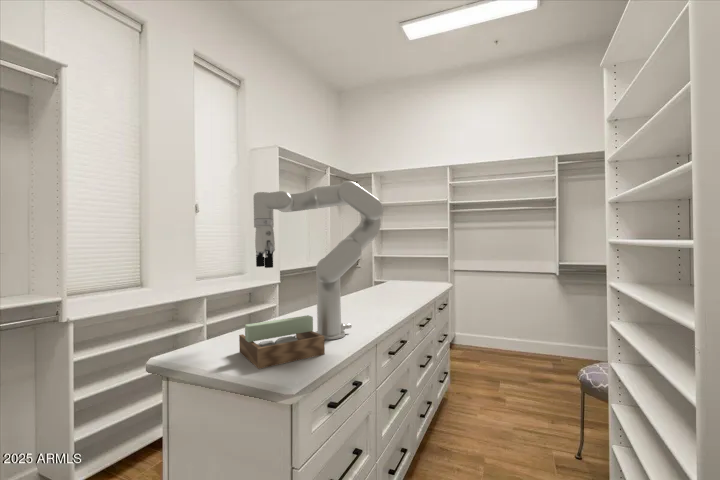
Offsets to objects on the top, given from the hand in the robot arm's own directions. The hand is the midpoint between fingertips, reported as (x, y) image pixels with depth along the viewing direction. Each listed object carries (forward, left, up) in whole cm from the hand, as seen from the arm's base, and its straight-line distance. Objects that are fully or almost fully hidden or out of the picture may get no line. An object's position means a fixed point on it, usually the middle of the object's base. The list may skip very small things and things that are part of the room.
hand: (264, 267), depth 138 cm
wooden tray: (+2, +21, -28) cm, 35 cm away
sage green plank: (+2, +21, -22) cm, 30 cm away
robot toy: (+3, +20, -29) cm, 35 cm away
